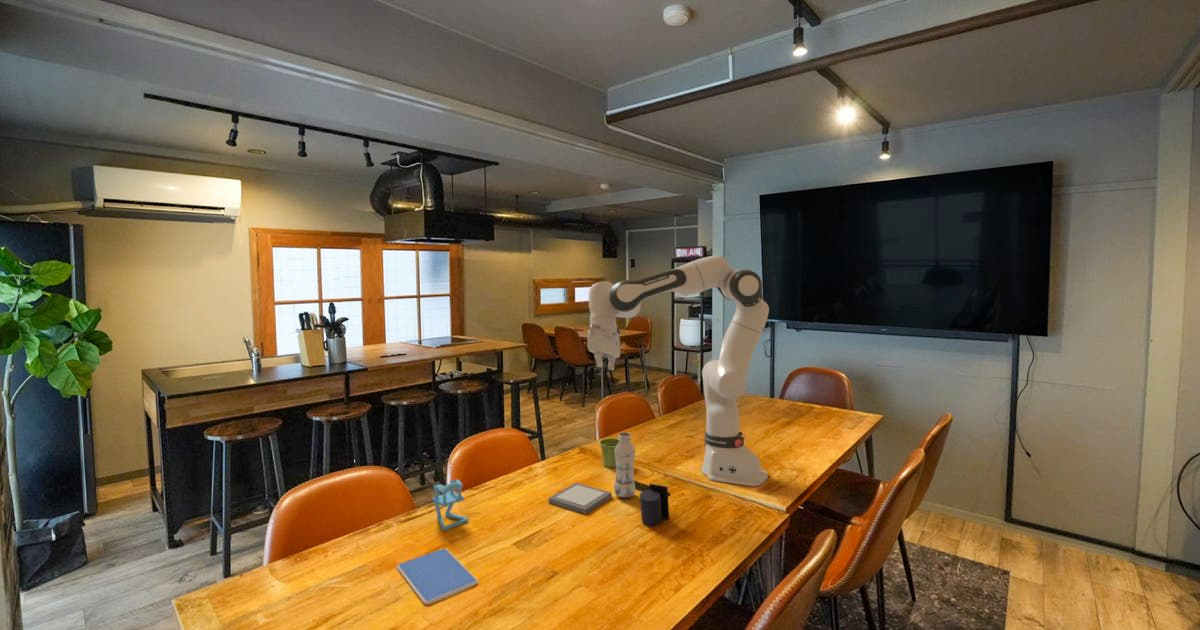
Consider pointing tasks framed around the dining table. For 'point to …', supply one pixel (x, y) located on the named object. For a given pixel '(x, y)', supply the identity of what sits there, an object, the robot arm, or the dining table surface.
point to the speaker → (654, 505)
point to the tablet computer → (436, 576)
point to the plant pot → (609, 451)
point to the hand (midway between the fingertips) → (605, 368)
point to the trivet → (580, 498)
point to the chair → (448, 502)
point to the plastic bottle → (624, 467)
